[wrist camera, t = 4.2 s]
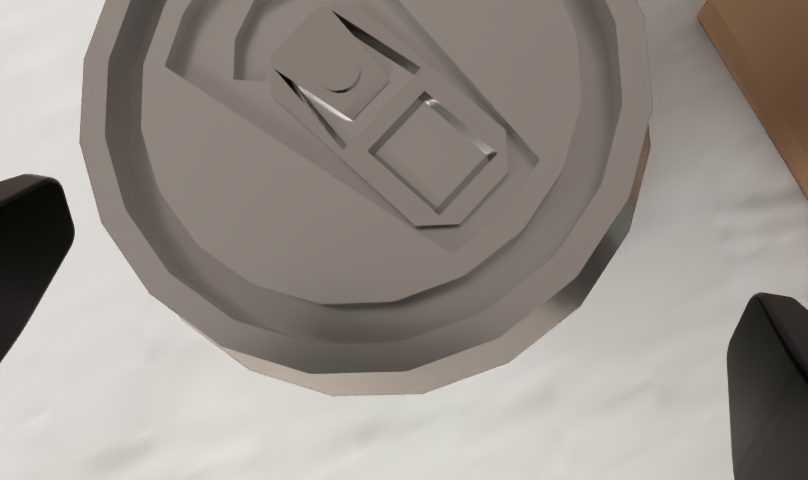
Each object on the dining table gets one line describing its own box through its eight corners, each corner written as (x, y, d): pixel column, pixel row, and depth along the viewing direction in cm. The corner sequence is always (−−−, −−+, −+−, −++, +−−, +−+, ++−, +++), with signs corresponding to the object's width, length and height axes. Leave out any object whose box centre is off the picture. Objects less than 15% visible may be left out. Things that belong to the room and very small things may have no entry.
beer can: (586, 258, 17) (826, 48, 5) (441, 416, 17) (361, 558, 5) (430, 123, 18) (346, -301, 6) (291, 270, 18) (-63, 109, 6)
